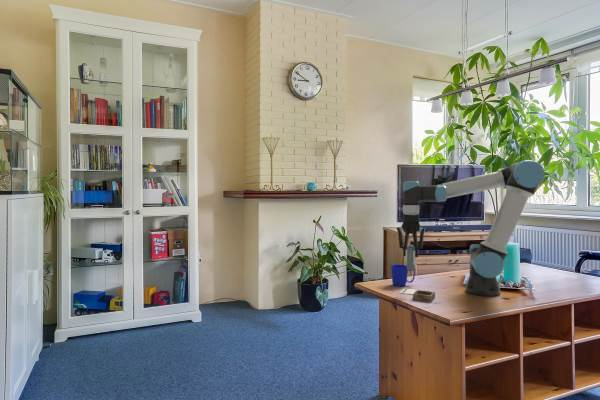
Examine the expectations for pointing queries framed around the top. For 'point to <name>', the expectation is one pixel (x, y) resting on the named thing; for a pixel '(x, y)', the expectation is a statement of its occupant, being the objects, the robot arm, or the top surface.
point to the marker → (410, 258)
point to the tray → (424, 296)
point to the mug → (400, 275)
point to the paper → (407, 291)
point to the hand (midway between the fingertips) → (410, 263)
